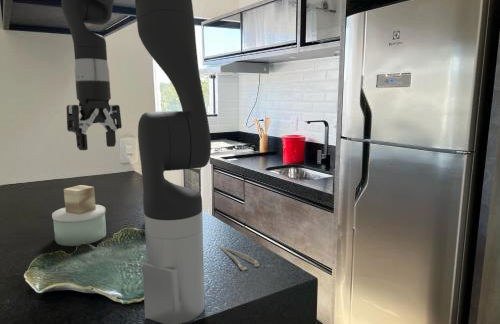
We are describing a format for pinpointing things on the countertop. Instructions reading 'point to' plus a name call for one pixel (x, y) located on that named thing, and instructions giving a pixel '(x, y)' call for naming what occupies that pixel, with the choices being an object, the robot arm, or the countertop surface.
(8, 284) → the countertop surface
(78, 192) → the beech block
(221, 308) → the countertop surface
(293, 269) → the countertop surface
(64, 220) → the round lidded container
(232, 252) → the tweezers
